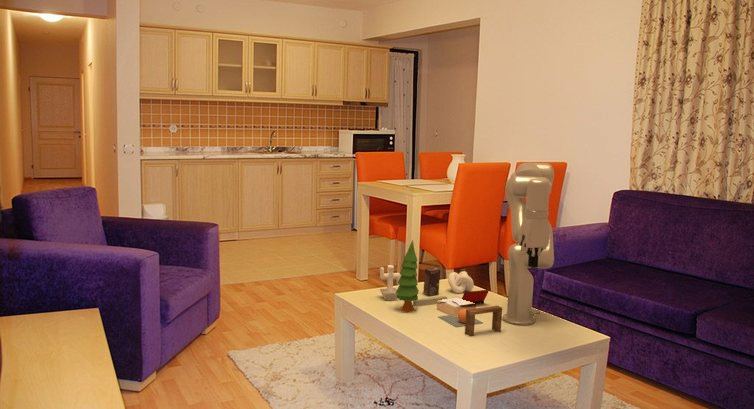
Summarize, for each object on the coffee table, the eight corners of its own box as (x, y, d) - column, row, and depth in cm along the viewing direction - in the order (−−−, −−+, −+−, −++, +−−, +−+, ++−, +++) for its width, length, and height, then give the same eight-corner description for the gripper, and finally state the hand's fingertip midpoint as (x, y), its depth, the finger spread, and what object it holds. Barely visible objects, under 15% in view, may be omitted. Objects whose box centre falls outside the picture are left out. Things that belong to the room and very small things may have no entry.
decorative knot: (457, 296, 275) (458, 277, 274) (440, 289, 285) (441, 271, 283) (476, 293, 281) (477, 274, 280) (459, 286, 291) (460, 268, 290)
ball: (473, 308, 238) (475, 322, 237) (465, 308, 243) (466, 322, 241) (462, 308, 235) (464, 323, 234) (454, 309, 240) (455, 323, 239)
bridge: (464, 333, 226) (466, 309, 225) (496, 328, 233) (497, 305, 232) (469, 336, 224) (470, 312, 223) (500, 331, 230) (502, 307, 229)
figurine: (402, 300, 265) (403, 267, 263) (381, 301, 263) (382, 268, 261) (397, 295, 272) (398, 263, 270) (377, 296, 270) (378, 264, 268)
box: (429, 296, 273) (430, 270, 271) (423, 294, 276) (424, 268, 275) (439, 295, 276) (440, 269, 274) (433, 292, 280) (434, 267, 278)
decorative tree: (422, 310, 252) (425, 240, 248) (407, 315, 245) (410, 242, 241) (405, 305, 259) (408, 236, 255) (390, 309, 252) (392, 239, 248)
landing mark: (464, 313, 250) (464, 313, 250) (483, 323, 239) (483, 322, 239) (437, 317, 244) (437, 316, 244) (455, 327, 233) (455, 326, 233)
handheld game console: (474, 299, 272) (475, 283, 271) (488, 306, 262) (489, 289, 261) (450, 301, 267) (451, 285, 266) (463, 309, 257) (464, 292, 256)
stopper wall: (444, 301, 266) (444, 295, 266) (446, 302, 265) (447, 297, 264) (412, 305, 259) (413, 299, 259) (415, 306, 258) (415, 300, 257)
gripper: (545, 212, 215) (541, 262, 218) (512, 214, 209) (508, 266, 211) (560, 215, 209) (556, 267, 211) (526, 217, 202) (523, 271, 205)
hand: (532, 266), depth 211 cm, fingers closed
